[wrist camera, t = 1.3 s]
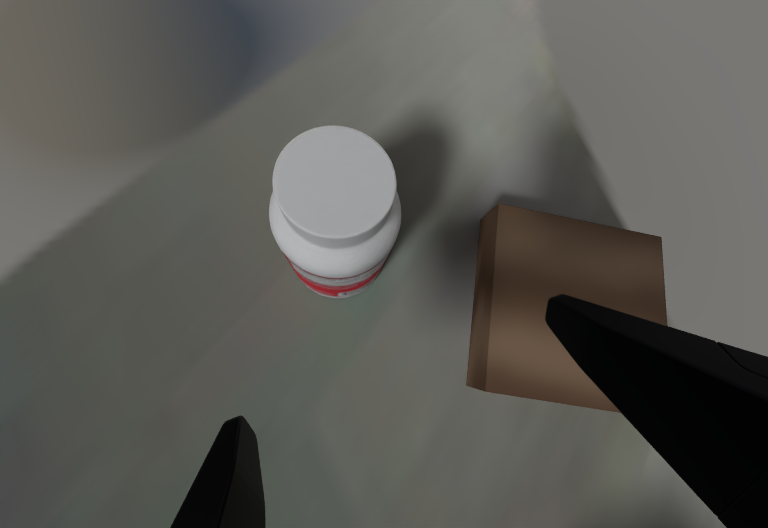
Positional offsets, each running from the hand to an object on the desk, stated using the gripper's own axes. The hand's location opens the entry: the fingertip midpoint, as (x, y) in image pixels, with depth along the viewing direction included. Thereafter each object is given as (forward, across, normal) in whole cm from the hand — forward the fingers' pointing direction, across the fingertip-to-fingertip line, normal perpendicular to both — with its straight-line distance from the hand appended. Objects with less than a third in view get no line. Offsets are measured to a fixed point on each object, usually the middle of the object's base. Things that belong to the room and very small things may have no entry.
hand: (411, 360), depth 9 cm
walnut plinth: (+8, -14, +10) cm, 19 cm away
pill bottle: (+14, 0, +5) cm, 15 cm away
